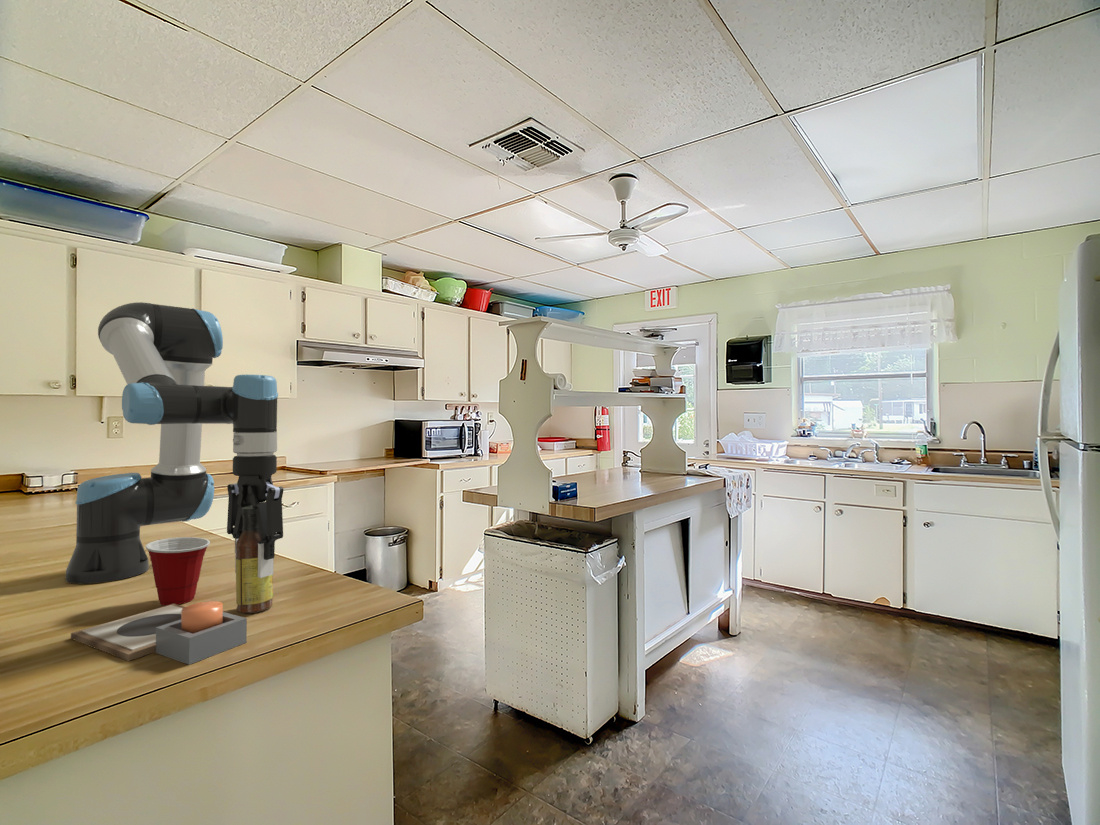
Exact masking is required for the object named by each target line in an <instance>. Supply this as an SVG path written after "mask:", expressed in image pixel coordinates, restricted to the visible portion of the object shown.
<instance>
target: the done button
mask: <svg viewBox="0 0 1100 825" xmlns="http://www.w3.org/2000/svg"><path fill="white" fill-rule="evenodd" d="M223 606H224V605H223V602H221V601H216V600H215V601H214V600H212V601H210V600H209V601H202V602H196V603H192V604H189V605H187V606H184V608H183V609H182V610H181V630H183V631H186V632H189V633H192V634H194V633H197V632H200V631H203V630H205V629H208V628H211V627H214V626H217V625H220V624H223V612H224V610H223V609H224V607H223Z"/></svg>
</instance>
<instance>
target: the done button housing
mask: <svg viewBox="0 0 1100 825" xmlns="http://www.w3.org/2000/svg"><path fill="white" fill-rule="evenodd" d="M247 620H248V619H247V617H244V616H240V615H237V614H232V613H229V612H225V611H223V624H220V625H217V626H214V627H211V628H208V629H205V630H203V631H200V632H197V633H194V634H192V633H189V632H186V631H183V630H181V620H178V621H175V622H172V623H168V624H165V625H162V626H159V627H156V652H155V654H158V655H161V656H163V657H165V658H166V657H167V658H169V659H172V660H175V661H178V662H180V663H184V664H185V665H192V664H194V663H197V662H200V661H203V660H205V659H208V658H210V657H213V656H215V655H218V654H221V653H224V652H226V651H228V650H231V649H234V648H236V647H238V646H242V645H244V644H246V643H247V641H248V640H247V630H248V629H247V628H248V627H247V622H248V621H247Z"/></svg>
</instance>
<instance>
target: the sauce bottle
mask: <svg viewBox="0 0 1100 825" xmlns="http://www.w3.org/2000/svg"><path fill="white" fill-rule="evenodd" d="M241 514H242V516H243V527H242V529H243V530H242V533H241V536H240V537H239V539H238V540H237V542H236V573H235V586H236V587H235V589H236V590H235V593H236V594H235V596H236V601H235V602H236V605H237V606H236V609H237V611H238V612H240V613H242V614H256V613H260V612H264V611H266V610H268V609H270V608H271V607H272V606H273V598H274V585H273V582H274V581H273V579H274V578H273V575H274V574H273V575H269V576H266V577H262V578H258V541H261V536H260V531H259V526H258V521H257V516H256V511H255V509H254V508H253V507H252V506H246V507H242V508H241Z"/></svg>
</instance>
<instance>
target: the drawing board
mask: <svg viewBox="0 0 1100 825" xmlns="http://www.w3.org/2000/svg"><path fill="white" fill-rule="evenodd" d="M184 607H185V606H183V605H181V604H178V605H177V604H171V605H163V606H160V607H157V608H154V609H150V610H147V611H142V612H139V613H137V614H133V615H130V616H129V615H128V616H126V617H122V618H119V619H116V620H112V621H111V620H110V621H108V622H105V623H101V624H97V625H94V626H91V627H87V628H83V629H80V630H76V631H72V632H70V639H71V638H72V639H75V640H77V641H76V642H78V641H80V642H82V643H81V644H83V643H84V645H85V644H87V645H86V646H88V645H90V646H89V647H91V646H92V647H91V648H93V647H95V648H94V649H96V648H97V649H96V650H98V649H100V650H99V651H101V650H102V652H104V651H105V652H104V653H106V652H108V653H107V654H109V653H110V655H111V654H113V655H112V656H114V655H115V656H114V657H116V658H119V659H122V660H125V661H128V662H130V661H132V660H135V659H139V658H141V657H144V656H147V655H149V654H153V653H156V627H159V626H162V625H165V624H168V623H172V622H175V621H178V620H181V610H182V609H183V608H184ZM72 639H71V640H72ZM75 640H74V641H75ZM80 642H79V643H80Z"/></svg>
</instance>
